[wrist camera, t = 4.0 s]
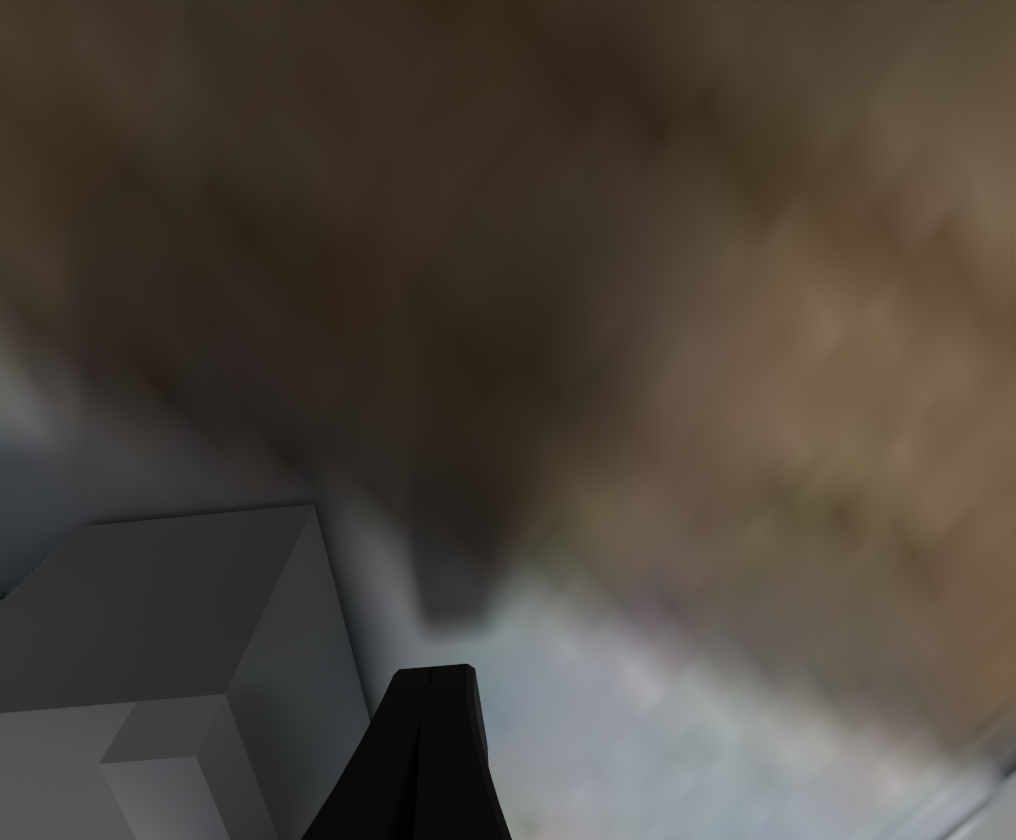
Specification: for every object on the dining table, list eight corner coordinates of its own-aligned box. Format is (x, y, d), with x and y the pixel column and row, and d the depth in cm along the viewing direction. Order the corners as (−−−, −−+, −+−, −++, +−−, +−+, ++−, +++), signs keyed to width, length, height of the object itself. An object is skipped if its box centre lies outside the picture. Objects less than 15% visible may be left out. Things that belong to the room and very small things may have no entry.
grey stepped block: (389, 794, 14) (338, 1102, 10) (-58, 830, 14) (-298, 1143, 10) (314, 504, 11) (195, 756, 7) (-242, 557, 12) (-688, 828, 7)
